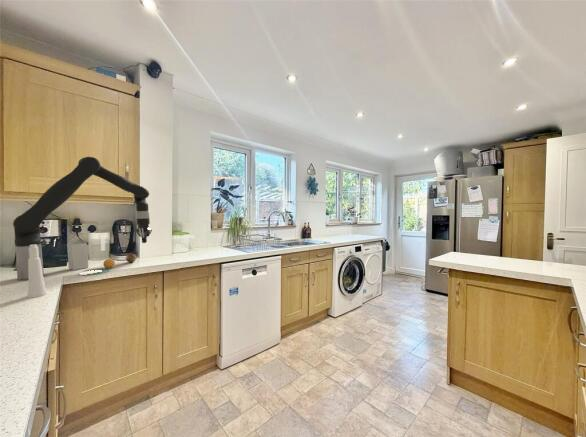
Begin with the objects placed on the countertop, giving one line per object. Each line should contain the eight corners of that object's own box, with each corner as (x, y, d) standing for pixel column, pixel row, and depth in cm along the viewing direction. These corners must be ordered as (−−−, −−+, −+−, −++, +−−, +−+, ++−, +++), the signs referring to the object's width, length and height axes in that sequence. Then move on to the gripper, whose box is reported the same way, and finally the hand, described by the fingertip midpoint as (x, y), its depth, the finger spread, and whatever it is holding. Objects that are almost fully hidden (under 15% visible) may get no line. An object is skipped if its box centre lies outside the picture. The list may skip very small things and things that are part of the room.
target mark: (78, 277, 132) (78, 276, 132) (78, 271, 143) (78, 270, 143) (111, 272, 141) (111, 271, 141) (109, 266, 152) (109, 266, 152)
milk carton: (83, 266, 154) (81, 235, 152) (88, 267, 150) (86, 236, 148) (68, 268, 148) (66, 237, 146) (73, 270, 144) (71, 238, 142)
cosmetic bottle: (51, 292, 111) (47, 243, 109) (37, 297, 105) (33, 246, 103) (37, 292, 111) (32, 243, 109) (22, 297, 105) (18, 246, 103)
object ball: (104, 269, 146) (103, 260, 145) (103, 267, 150) (102, 258, 149) (115, 268, 149) (115, 259, 149) (114, 266, 153) (113, 257, 153)
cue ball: (126, 263, 159) (126, 255, 158) (125, 262, 163) (125, 253, 162) (136, 262, 162) (136, 254, 162) (135, 260, 166) (135, 252, 166)
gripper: (130, 217, 168) (132, 243, 170) (145, 218, 164) (146, 244, 166) (140, 216, 175) (142, 241, 177) (155, 217, 171) (156, 242, 173)
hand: (144, 242), depth 171 cm, fingers closed
